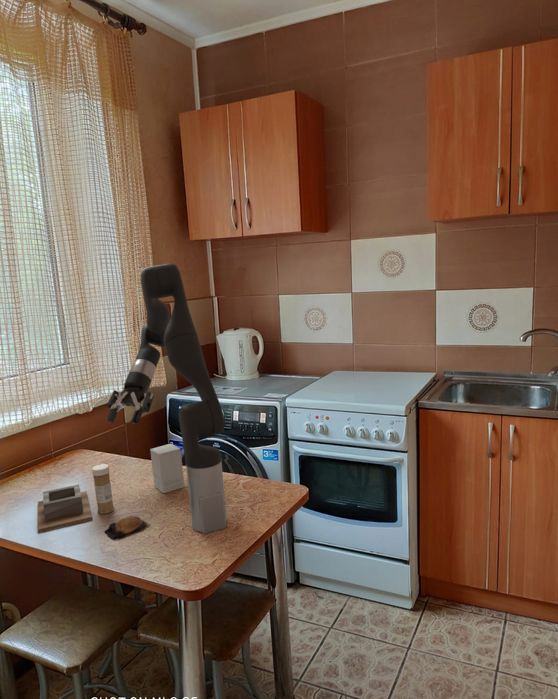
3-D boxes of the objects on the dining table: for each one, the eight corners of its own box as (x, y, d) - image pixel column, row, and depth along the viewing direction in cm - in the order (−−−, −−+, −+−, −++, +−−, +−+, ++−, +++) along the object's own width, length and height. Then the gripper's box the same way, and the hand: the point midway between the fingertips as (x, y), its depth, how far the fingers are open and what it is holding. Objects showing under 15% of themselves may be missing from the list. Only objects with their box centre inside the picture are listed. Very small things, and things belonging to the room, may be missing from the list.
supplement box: (185, 487, 172) (181, 448, 169) (162, 494, 167) (158, 454, 165) (175, 480, 178) (171, 442, 176) (153, 486, 174) (149, 448, 172)
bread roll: (137, 519, 153) (136, 506, 153) (152, 528, 147) (151, 515, 147) (101, 533, 146) (99, 520, 146) (115, 544, 140) (114, 530, 139)
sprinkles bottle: (110, 505, 162) (104, 462, 159) (116, 510, 158) (111, 466, 156) (95, 511, 159) (89, 466, 157) (101, 516, 155) (95, 471, 153)
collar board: (92, 519, 153) (90, 501, 152) (38, 532, 148) (35, 513, 147) (86, 494, 172) (84, 477, 171) (38, 504, 166) (35, 487, 165)
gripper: (115, 370, 174) (95, 415, 165) (153, 370, 168) (135, 417, 160) (127, 382, 180) (109, 427, 171) (165, 383, 174) (147, 429, 166)
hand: (121, 422), depth 165 cm, fingers open, 8 cm apart
